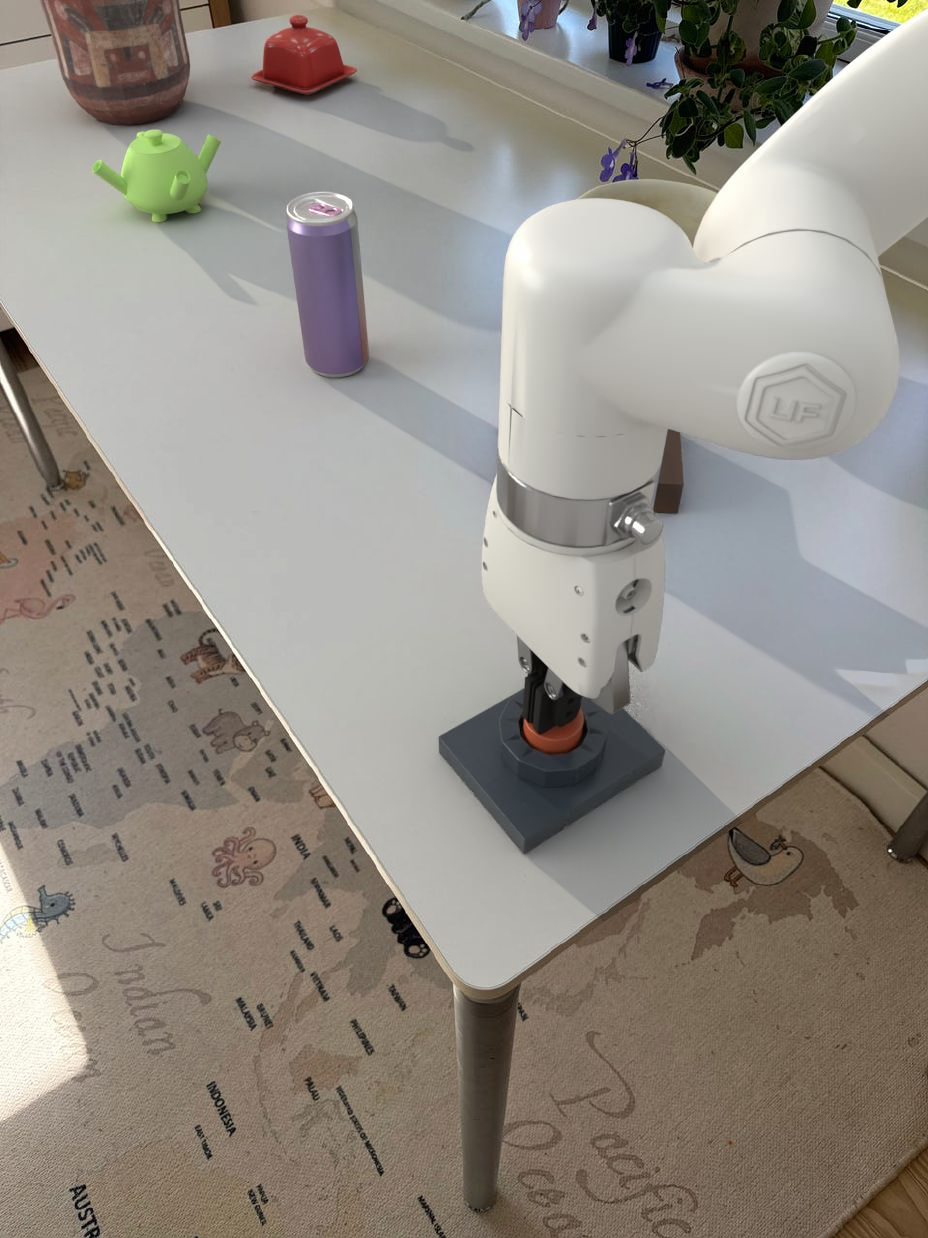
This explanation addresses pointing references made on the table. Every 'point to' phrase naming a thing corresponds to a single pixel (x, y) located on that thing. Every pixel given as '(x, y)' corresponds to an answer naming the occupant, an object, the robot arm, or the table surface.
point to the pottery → (121, 56)
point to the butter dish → (302, 59)
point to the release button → (555, 737)
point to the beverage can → (328, 282)
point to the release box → (546, 767)
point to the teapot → (161, 174)
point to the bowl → (662, 200)
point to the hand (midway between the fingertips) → (550, 715)
